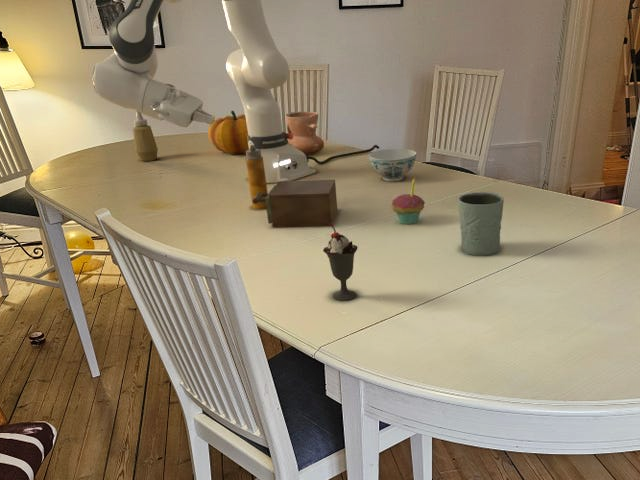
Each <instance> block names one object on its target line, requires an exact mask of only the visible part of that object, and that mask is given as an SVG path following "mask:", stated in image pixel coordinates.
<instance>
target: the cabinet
mask: <svg viewBox="0 0 640 480" xmlns="http://www.w3.org/2000/svg"><path fill="white" fill-rule="evenodd" d="M275 185H276V186H275V187H274V186H273V187H274V189H273V190H272V189H271V190H272V192H271V193H270V194H269V193H268V194H269V201H270V209H271V216H272V223H271V225H272V228H305V227H307V228H308V227H309V228H310V227H311V228H312V227H331V226H330V225H329V223H331V224H332V225H333V223H334V221H335V218H336V215H337V213H338V201H337V200H338V199H337V198H338V197H337V185H336V179H309V180H292V181H279V182H276V184H275Z"/></svg>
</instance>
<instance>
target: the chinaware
mask: <svg viewBox="0 0 640 480" xmlns="http://www.w3.org/2000/svg"><path fill="white" fill-rule="evenodd" d="M368 158H369V162H370V164H371V167H372V169H373V170H374V171H375V172H376V173H377V174H378V175H379V176H380V177H382V180H383V181H385V182H399V181H403V180H404V179H405V176H406V175H407V174H408V173H409V172H410V171H411V170H412V168H413V167H414V165H415V162H416V159H417V151H415V150H413V149H408V148H386V149H377V150H375V151H371V152H369V154H368Z"/></svg>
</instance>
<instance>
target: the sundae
mask: <svg viewBox="0 0 640 480" xmlns="http://www.w3.org/2000/svg"><path fill="white" fill-rule="evenodd" d="M329 225H330V226H329V227H331V228H332V229H333V233H331V235H330V237H331V239H330V240H329V241H328V242H327V246H325V247H324V248H323V250H322V251H323V253H325V255H327V258H328V261H329V265H330V270H331V273H332V275H333V277H334V278H335V279H336V280H337V281H338V280H339V282H340V290H337V291H335V292H334V293H333V294H332V296H331V297H332V299H334V300H335V301H339V302H346V301H351V300H354V299H356V297H357V292H356V291H354V290H351V289H348V286H347V280H349V279H350V277H351V276H353V272H354V261H355V254H356V253H357V251H358V245H356V244H353V241H352V240H350V241H349V239H348V238H347V237H346V236H345V235H343V234H340V233H339V232H337V231H336V229H335V227H334V226H333V223H332V224H331V223H329Z"/></svg>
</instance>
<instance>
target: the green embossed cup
mask: <svg viewBox="0 0 640 480" xmlns="http://www.w3.org/2000/svg"><path fill="white" fill-rule="evenodd" d="M504 201H505V198H504V196H503V195H501V194H499V193H495V192H484V191H478V192H469V193H466V194H465V193H464V194H462V195H460V196H459V197H458V199H457V203H458V213H459V223H460V235H461V236H460V237H461V238H460V239H461V240H460V241H461V250H462V252H463V253H465V254H466V255H470V256H477V257H478V256H480V257H481V256H485V257H486V256H491V255H494V254H497V253H498V252H499V250H500V244H501V243H500V242H501V229H502V221H503V210H504Z"/></svg>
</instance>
